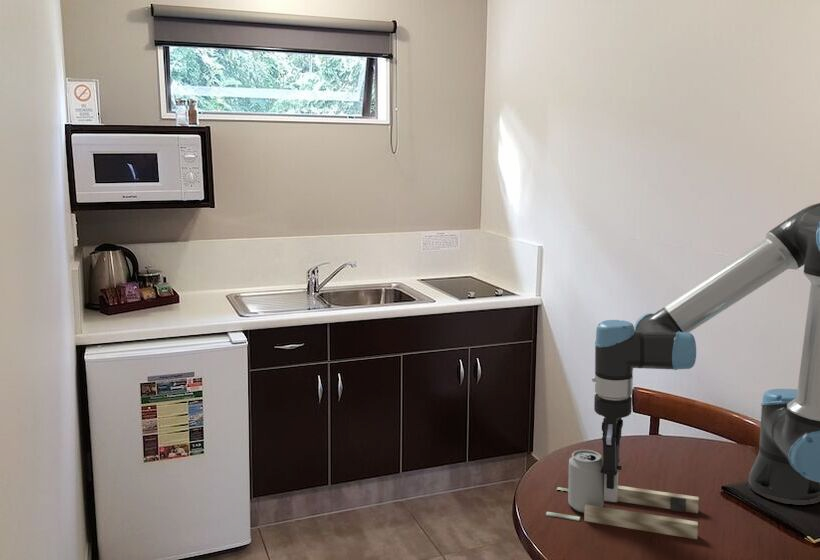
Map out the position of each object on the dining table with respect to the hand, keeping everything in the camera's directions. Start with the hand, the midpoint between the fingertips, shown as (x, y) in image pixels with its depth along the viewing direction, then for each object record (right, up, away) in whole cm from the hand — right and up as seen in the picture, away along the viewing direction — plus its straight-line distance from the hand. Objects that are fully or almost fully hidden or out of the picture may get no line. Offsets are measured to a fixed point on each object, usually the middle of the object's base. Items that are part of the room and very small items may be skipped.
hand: (610, 499), depth 156 cm
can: (-5, -2, +3) cm, 6 cm away
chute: (+2, -3, 0) cm, 4 cm away
